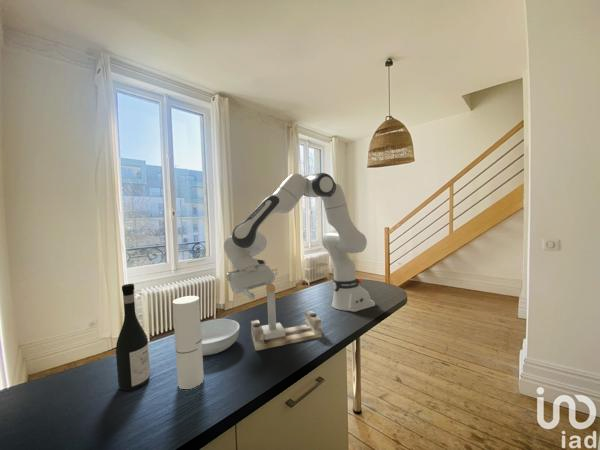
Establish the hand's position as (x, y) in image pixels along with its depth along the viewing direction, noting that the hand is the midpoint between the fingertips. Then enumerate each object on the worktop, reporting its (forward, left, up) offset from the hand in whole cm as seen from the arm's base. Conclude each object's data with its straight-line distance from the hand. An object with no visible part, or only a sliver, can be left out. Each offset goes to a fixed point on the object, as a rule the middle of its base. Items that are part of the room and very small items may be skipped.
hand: (262, 295), depth 103 cm
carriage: (-3, +5, -14) cm, 15 cm away
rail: (-8, +5, -17) cm, 19 cm away
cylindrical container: (+26, +20, -17) cm, 37 cm away
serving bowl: (+20, +1, -17) cm, 26 cm away
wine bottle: (+42, +14, -17) cm, 47 cm away
